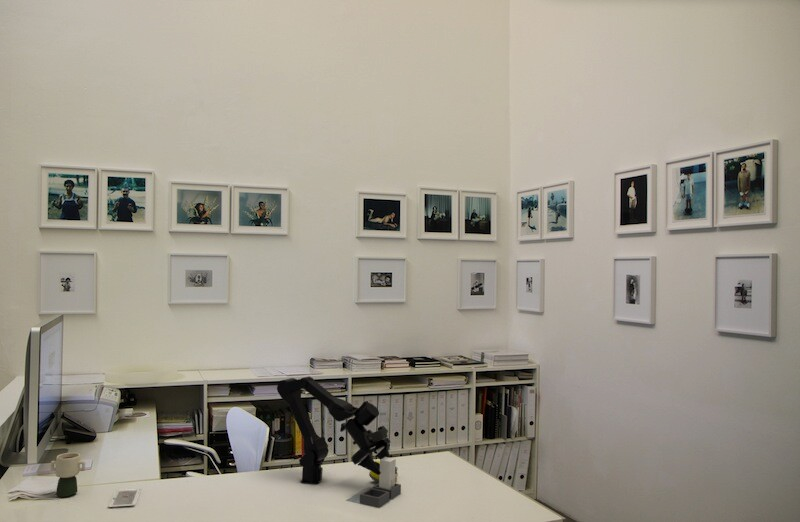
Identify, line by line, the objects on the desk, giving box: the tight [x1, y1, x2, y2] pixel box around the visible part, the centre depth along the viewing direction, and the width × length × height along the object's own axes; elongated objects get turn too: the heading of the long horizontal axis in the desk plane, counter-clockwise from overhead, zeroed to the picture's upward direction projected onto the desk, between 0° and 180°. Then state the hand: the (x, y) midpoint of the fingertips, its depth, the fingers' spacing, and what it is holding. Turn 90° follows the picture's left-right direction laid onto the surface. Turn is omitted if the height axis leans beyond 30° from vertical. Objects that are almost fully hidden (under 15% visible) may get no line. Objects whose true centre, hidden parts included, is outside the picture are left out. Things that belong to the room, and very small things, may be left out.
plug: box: [379, 457, 397, 489], centre depth 215 cm, size 4×4×12 cm
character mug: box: [50, 452, 86, 498], centre depth 207 cm, size 11×7×13 cm, turn 95°
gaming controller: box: [368, 460, 399, 484], centre depth 232 cm, size 15×6×10 cm
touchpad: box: [107, 488, 142, 508], centre depth 205 cm, size 8×15×2 cm, turn 15°
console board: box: [345, 482, 402, 509], centre depth 213 cm, size 13×16×4 cm
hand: (386, 470), depth 216 cm, fingers open, 9 cm apart
